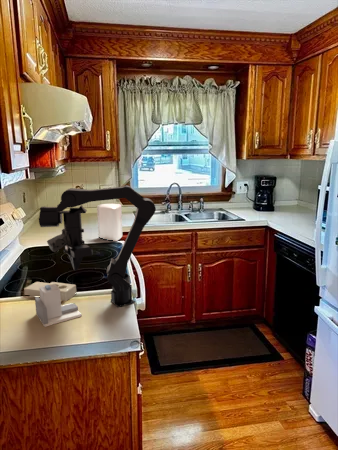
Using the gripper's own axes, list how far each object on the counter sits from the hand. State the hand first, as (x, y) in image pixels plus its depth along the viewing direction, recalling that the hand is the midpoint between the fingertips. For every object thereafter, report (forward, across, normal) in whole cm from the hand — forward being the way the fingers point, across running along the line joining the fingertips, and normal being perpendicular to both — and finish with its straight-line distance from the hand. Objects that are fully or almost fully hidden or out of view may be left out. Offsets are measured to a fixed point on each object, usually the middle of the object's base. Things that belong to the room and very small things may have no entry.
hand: (75, 270), depth 116 cm
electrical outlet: (+14, -14, -5) cm, 21 cm away
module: (+13, +4, -10) cm, 17 cm away
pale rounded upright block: (+13, -80, +49) cm, 94 cm away
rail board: (+13, +4, -8) cm, 16 cm away
